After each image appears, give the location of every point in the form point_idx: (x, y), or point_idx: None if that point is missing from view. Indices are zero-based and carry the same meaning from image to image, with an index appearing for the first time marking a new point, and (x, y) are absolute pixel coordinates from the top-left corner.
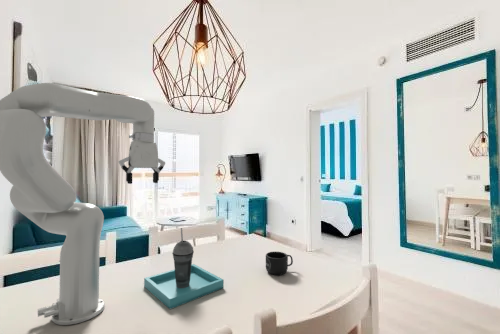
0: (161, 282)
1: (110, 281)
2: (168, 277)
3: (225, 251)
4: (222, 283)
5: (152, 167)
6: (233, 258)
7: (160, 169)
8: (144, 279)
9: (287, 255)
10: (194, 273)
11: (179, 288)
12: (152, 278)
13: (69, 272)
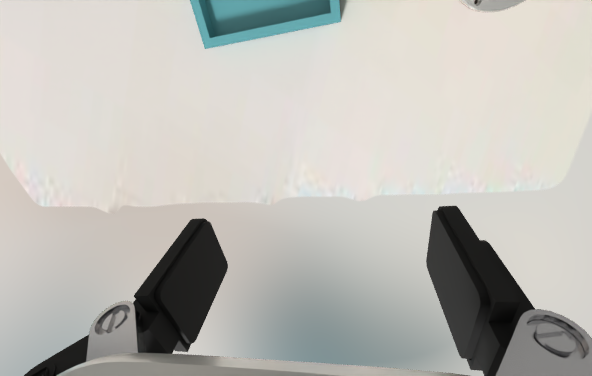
0: (301, 5)
1: (394, 102)
2: (279, 23)
3: (116, 133)
4: None
5: (151, 356)
6: (102, 74)
7: (75, 353)
8: (340, 20)
9: None
10: (214, 16)
11: None
12: (321, 15)
13: None
